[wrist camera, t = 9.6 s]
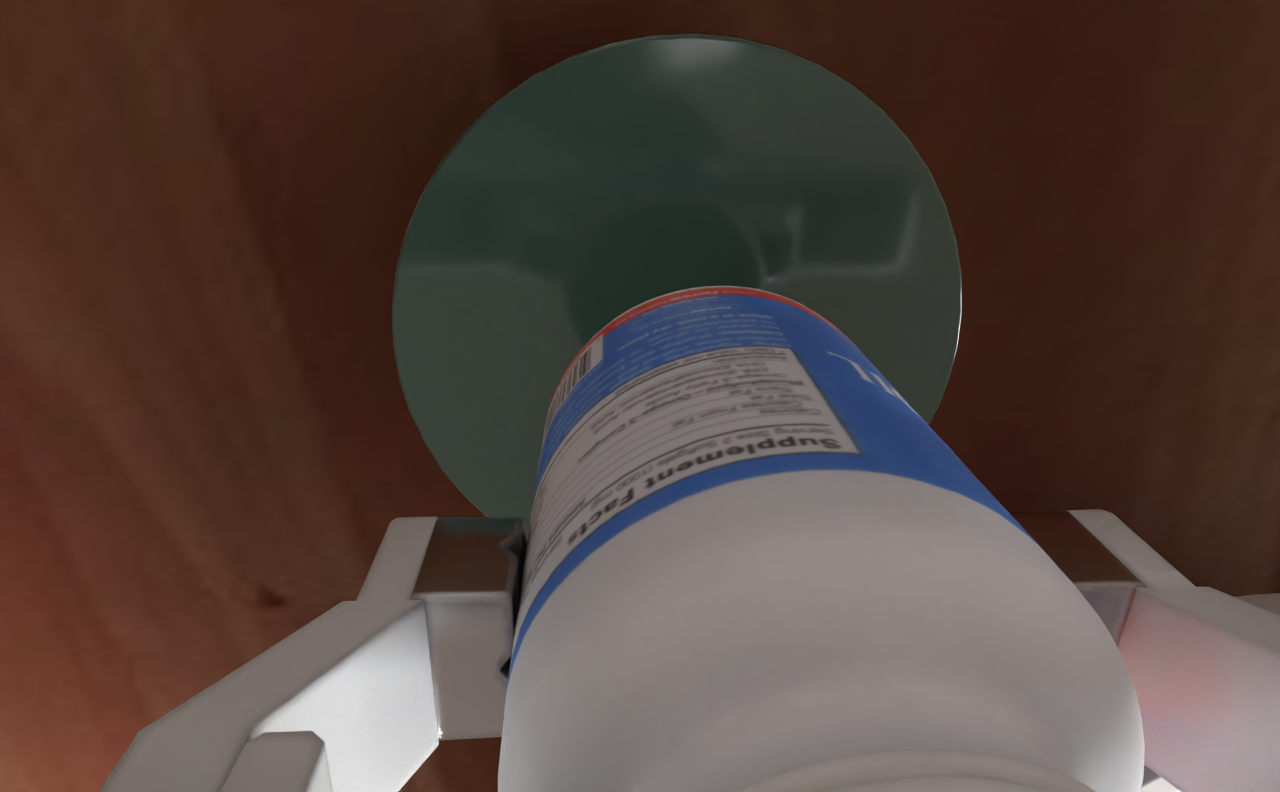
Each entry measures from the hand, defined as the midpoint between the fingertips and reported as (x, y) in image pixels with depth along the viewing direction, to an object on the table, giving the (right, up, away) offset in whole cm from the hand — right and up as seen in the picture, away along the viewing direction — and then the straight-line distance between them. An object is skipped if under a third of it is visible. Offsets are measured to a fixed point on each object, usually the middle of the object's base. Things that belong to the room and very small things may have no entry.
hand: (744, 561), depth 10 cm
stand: (-1, +6, +13) cm, 14 cm away
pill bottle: (0, +1, +4) cm, 4 cm away
